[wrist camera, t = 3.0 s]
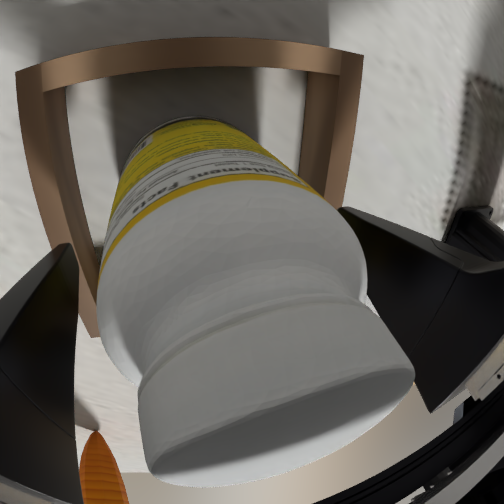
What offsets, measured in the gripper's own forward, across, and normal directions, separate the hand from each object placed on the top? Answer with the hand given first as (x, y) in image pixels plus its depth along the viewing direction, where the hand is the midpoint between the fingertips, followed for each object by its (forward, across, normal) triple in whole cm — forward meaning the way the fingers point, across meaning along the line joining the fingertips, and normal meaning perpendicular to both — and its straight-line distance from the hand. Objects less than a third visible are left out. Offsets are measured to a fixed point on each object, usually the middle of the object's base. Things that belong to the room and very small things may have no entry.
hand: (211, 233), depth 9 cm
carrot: (+4, +13, +24) cm, 28 cm away
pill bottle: (+4, 0, 0) cm, 5 cm away
